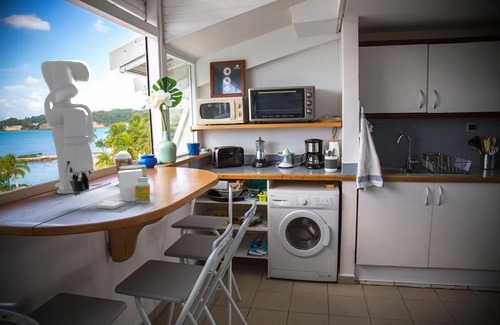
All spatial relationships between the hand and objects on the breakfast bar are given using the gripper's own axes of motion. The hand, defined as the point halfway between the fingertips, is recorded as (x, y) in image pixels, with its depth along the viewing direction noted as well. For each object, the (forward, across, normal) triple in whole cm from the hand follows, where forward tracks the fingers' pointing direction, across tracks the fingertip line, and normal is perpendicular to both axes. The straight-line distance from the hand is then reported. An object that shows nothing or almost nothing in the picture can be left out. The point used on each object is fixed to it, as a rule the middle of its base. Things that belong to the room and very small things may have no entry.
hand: (82, 189), depth 120 cm
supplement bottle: (+6, -8, +20) cm, 23 cm away
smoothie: (+7, -45, -14) cm, 47 cm away
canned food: (+7, -25, +5) cm, 26 cm away
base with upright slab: (+7, -13, +12) cm, 19 cm away
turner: (0, 0, +4) cm, 4 cm away
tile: (+5, 0, +8) cm, 10 cm away
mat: (+7, 0, +12) cm, 14 cm away
